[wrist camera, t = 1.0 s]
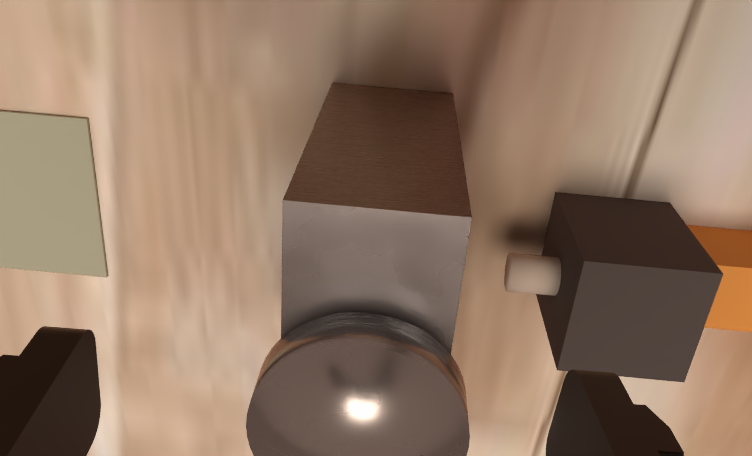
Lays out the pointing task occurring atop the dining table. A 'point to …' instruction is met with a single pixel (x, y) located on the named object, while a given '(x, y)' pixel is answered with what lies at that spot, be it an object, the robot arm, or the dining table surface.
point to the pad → (49, 196)
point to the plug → (633, 285)
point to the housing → (370, 285)
